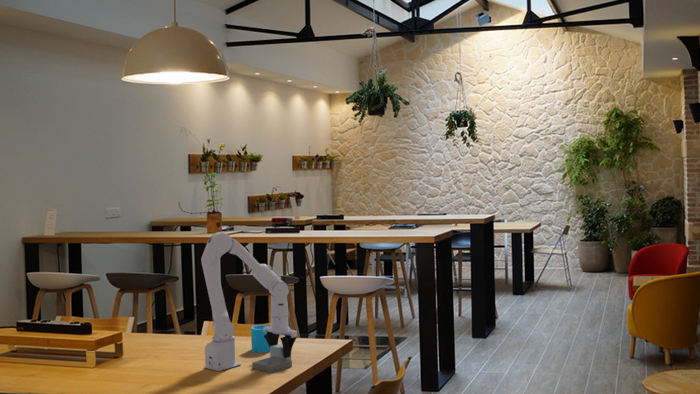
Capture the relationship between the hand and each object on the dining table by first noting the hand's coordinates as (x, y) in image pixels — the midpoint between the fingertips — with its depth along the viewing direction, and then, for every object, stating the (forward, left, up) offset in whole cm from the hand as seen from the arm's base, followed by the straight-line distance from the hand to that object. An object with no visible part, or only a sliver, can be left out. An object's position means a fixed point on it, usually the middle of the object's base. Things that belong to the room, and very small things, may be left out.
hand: (280, 356), depth 225 cm
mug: (+8, +18, -2) cm, 20 cm away
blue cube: (0, 0, -2) cm, 2 cm away
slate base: (-8, -4, -1) cm, 9 cm away
